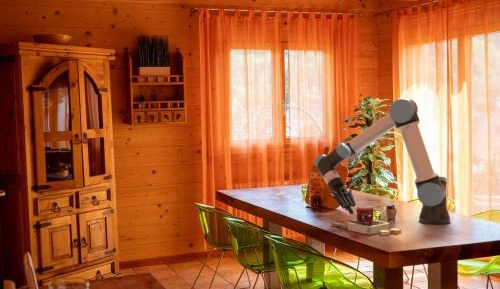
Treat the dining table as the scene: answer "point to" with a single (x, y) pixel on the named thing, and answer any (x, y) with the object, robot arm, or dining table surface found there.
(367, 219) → the canned food
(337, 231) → the dining table surface
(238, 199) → the dining table surface
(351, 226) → the tray
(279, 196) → the dining table surface
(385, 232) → the chip
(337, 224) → the slot rails
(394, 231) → the chip
